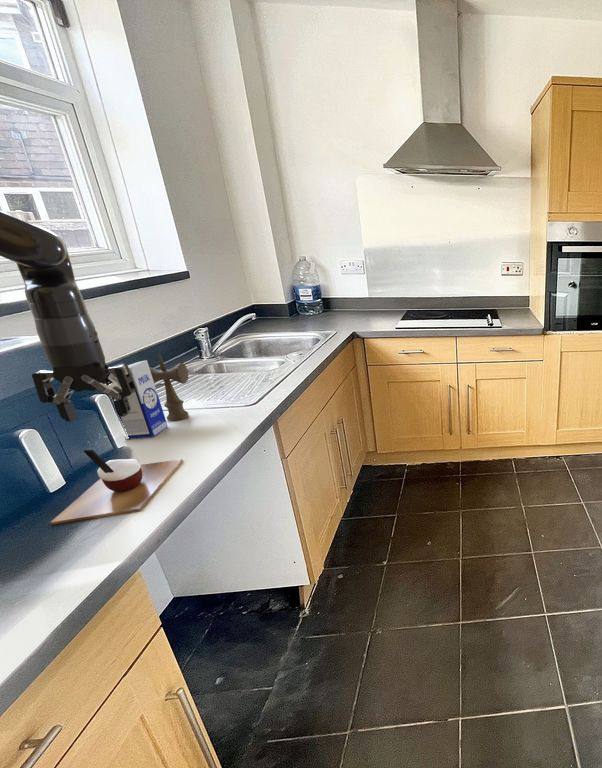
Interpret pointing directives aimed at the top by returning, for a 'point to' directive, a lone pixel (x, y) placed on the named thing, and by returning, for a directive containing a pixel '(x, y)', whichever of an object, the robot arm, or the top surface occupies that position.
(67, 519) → the copper plate
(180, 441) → the top surface
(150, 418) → the milk carton
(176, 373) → the kendama
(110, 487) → the cocoa
